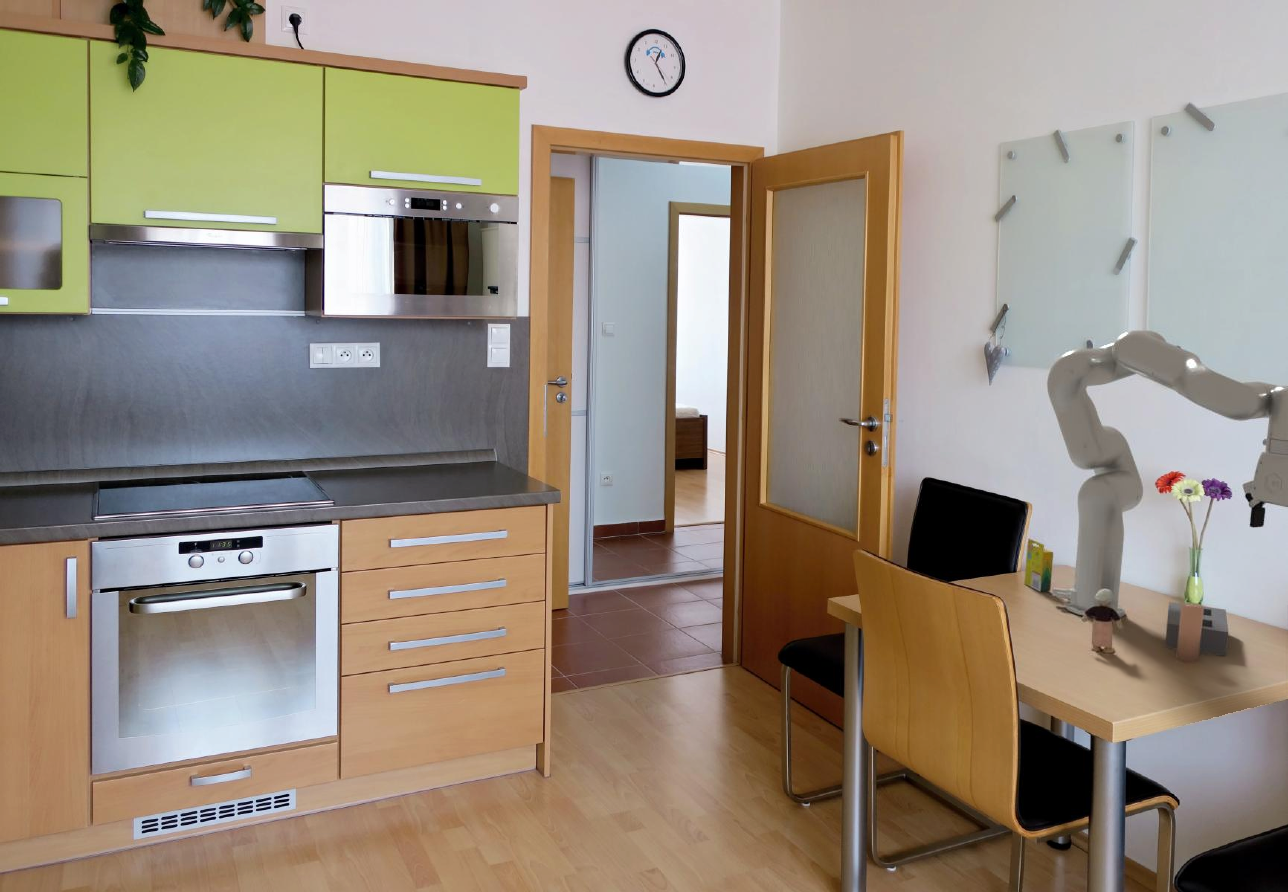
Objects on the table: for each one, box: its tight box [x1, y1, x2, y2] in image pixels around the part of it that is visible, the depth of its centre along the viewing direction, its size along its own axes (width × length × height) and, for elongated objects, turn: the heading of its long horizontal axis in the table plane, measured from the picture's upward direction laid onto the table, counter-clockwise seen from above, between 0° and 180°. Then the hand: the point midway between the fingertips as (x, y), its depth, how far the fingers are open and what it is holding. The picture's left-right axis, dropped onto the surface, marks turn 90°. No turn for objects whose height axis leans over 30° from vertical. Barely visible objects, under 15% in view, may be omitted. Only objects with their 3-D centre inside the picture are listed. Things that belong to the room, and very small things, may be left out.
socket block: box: [1165, 601, 1229, 657], centre depth 229 cm, size 11×18×5 cm, turn 154°
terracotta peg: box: [1175, 602, 1205, 663], centre depth 216 cm, size 4×4×11 cm
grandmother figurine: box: [1081, 589, 1124, 654], centre depth 220 cm, size 8×4×13 cm, turn 71°
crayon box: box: [1024, 538, 1054, 593], centre depth 266 cm, size 7×3×12 cm, turn 11°
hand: (1277, 532), depth 219 cm, fingers open, 9 cm apart
